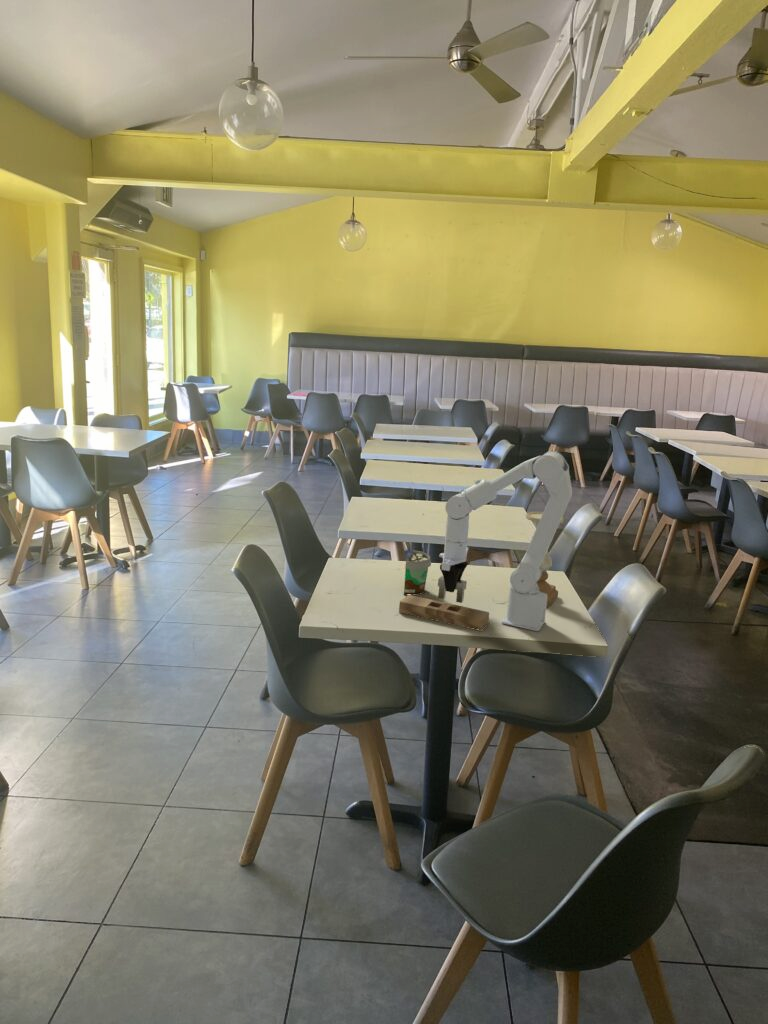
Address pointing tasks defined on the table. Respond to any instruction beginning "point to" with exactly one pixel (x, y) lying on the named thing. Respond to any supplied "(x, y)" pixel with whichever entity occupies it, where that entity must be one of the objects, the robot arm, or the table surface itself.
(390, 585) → the table surface
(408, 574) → the food container
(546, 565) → the candle holder
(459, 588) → the grey block
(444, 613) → the brown slotted holder
